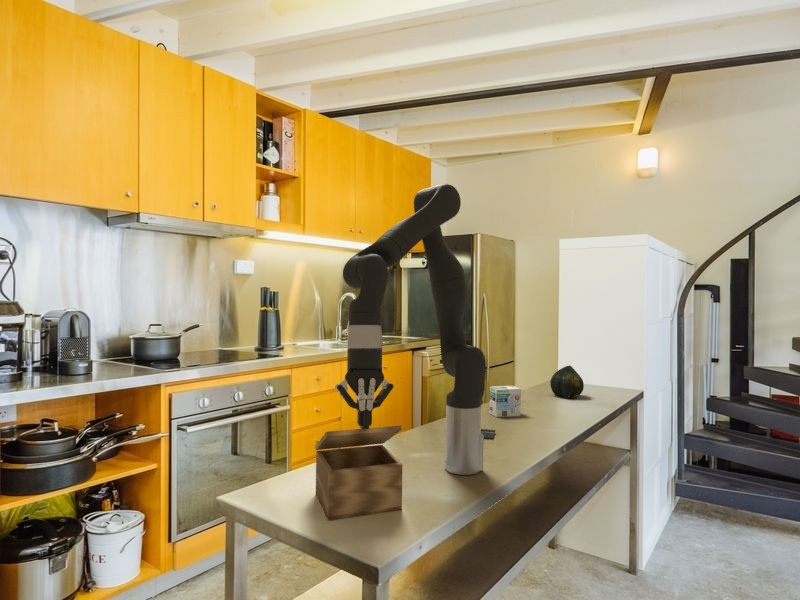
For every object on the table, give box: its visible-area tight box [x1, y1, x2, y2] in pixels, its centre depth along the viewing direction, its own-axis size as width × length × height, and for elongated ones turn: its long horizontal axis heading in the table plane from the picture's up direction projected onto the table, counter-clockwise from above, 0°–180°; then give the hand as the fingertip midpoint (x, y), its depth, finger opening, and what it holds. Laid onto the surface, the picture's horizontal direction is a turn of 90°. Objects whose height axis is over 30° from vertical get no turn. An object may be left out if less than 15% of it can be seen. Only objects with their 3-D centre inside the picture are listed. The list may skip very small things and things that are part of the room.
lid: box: [314, 424, 403, 451], centre depth 111 cm, size 16×14×1 cm
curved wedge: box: [481, 428, 496, 440], centre depth 164 cm, size 8×14×2 cm, turn 74°
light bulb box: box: [488, 385, 522, 418], centre depth 192 cm, size 11×7×11 cm, turn 104°
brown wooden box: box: [315, 444, 403, 522], centre depth 110 cm, size 16×14×10 cm
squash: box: [549, 365, 585, 399], centre depth 229 cm, size 14×15×15 cm
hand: (364, 428), depth 105 cm, fingers closed
